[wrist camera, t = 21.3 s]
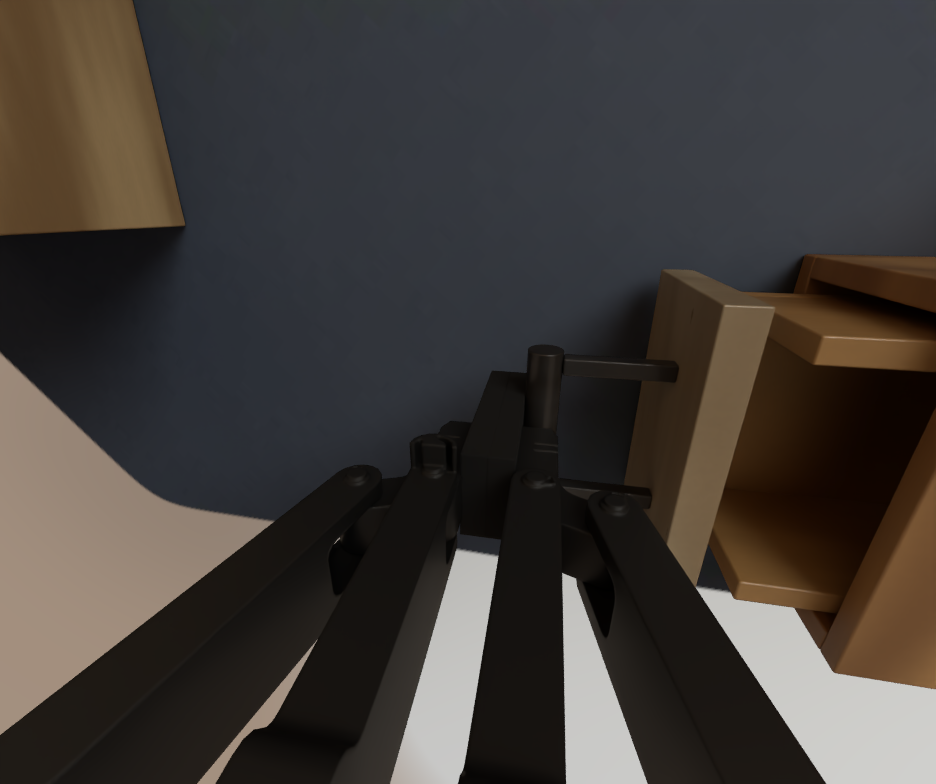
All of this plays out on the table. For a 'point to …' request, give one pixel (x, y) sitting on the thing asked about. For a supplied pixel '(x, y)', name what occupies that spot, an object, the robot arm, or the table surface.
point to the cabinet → (905, 521)
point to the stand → (79, 121)
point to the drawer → (764, 429)
